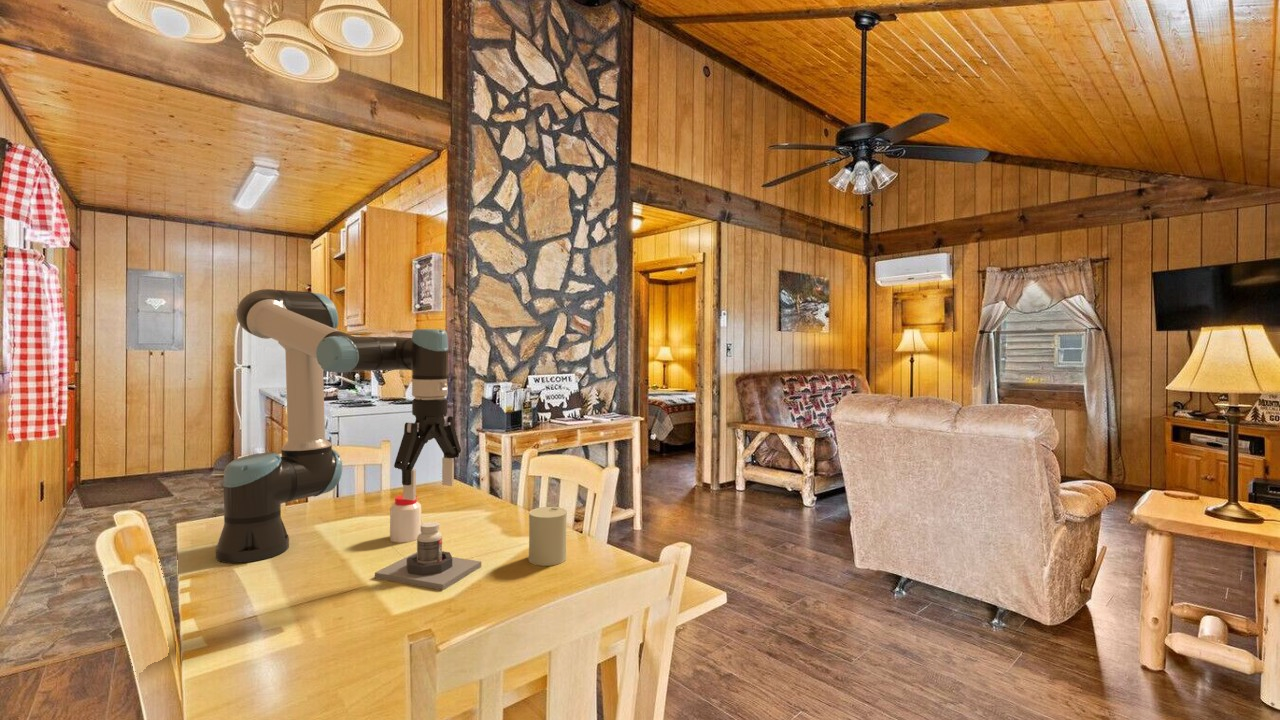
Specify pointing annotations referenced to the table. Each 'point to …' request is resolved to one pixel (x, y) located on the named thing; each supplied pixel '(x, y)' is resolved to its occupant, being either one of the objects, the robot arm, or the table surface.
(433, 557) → the pill bottle
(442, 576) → the collar plate
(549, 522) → the can
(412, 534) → the pill bottle
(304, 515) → the table surface
